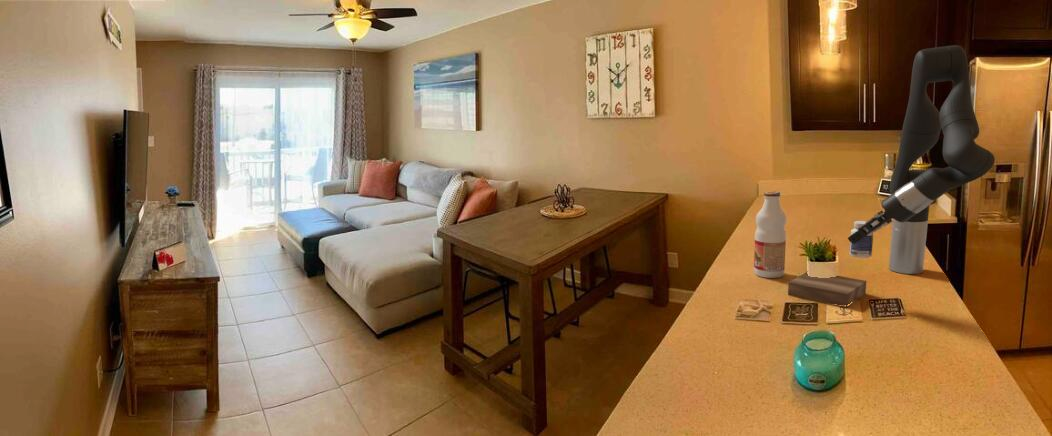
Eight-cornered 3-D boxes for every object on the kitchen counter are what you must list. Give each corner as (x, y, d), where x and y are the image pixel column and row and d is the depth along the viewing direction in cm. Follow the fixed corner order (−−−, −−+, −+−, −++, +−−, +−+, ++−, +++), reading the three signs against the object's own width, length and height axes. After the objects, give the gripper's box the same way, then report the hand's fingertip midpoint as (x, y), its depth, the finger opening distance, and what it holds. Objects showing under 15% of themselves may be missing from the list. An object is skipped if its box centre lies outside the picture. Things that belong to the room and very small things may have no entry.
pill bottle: (875, 258, 149) (877, 224, 147) (853, 258, 150) (856, 224, 148) (866, 253, 154) (869, 220, 152) (846, 253, 155) (848, 220, 153)
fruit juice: (777, 280, 174) (781, 195, 168) (748, 275, 180) (751, 193, 175) (788, 273, 180) (792, 191, 174) (760, 268, 187) (763, 189, 181)
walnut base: (808, 282, 170) (809, 270, 169) (865, 293, 158) (866, 280, 158) (787, 294, 161) (788, 282, 160) (846, 307, 149) (847, 294, 148)
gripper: (904, 186, 147) (852, 223, 158) (888, 194, 138) (835, 233, 149) (926, 207, 144) (872, 243, 155) (911, 217, 135) (855, 255, 146)
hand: (854, 238), depth 152 cm, fingers closed on pill bottle, 5 cm apart
